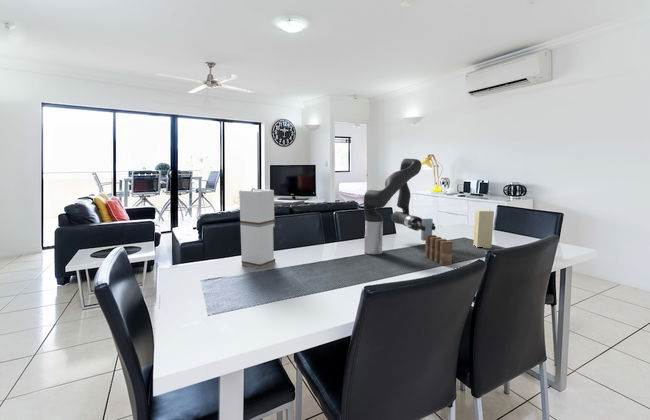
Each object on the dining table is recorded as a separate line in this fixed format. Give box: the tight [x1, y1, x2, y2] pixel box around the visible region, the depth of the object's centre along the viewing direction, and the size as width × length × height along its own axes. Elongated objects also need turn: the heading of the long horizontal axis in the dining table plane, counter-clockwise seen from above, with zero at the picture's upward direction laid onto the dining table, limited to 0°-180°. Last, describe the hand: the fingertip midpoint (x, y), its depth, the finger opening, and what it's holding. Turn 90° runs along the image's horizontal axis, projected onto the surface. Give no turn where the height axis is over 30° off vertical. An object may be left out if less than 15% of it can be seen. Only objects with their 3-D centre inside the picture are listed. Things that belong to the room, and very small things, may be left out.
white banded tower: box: [238, 188, 276, 270], centre depth 159 cm, size 11×11×35 cm
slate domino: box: [420, 218, 434, 242], centre depth 176 cm, size 2×5×11 cm, turn 104°
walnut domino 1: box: [424, 234, 438, 259], centre depth 173 cm, size 2×5×11 cm, turn 104°
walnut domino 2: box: [429, 236, 443, 261], centre depth 168 cm, size 2×5×11 cm, turn 104°
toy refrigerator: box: [472, 209, 495, 249], centre depth 193 cm, size 8×7×21 cm
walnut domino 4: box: [439, 240, 454, 266], centre depth 160 cm, size 2×5×11 cm, turn 103°
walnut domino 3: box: [433, 238, 448, 264], centre depth 164 cm, size 2×5×11 cm, turn 103°
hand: (429, 228), depth 174 cm, fingers closed on slate domino, 5 cm apart
